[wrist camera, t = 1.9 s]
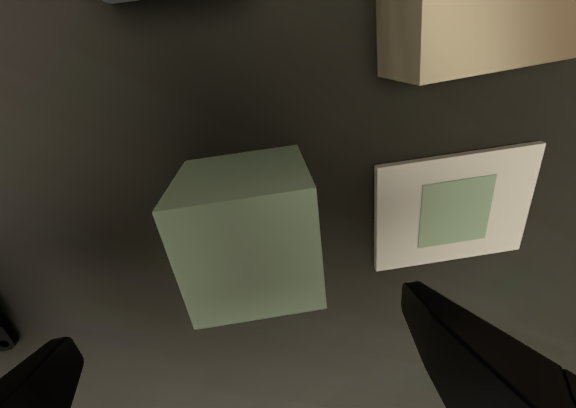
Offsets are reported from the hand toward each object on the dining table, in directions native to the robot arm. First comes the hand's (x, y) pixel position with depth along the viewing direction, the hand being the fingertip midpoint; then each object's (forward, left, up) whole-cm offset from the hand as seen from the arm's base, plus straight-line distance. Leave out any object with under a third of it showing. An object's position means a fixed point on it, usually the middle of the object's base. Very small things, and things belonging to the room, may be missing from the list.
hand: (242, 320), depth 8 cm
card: (+10, -2, -7) cm, 13 cm away
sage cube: (0, 0, -7) cm, 7 cm away
